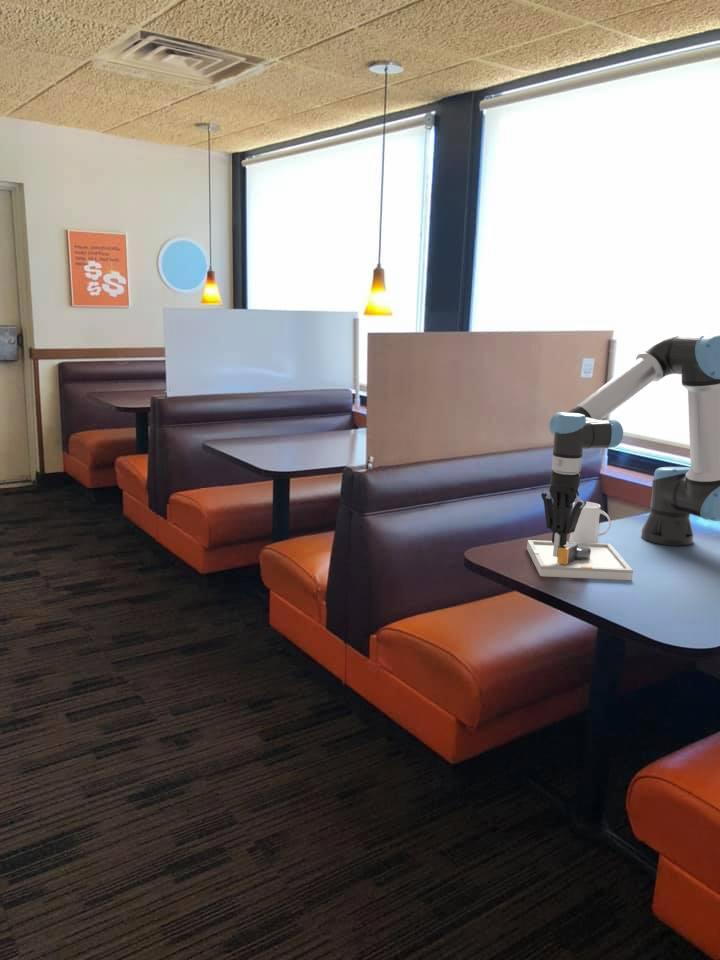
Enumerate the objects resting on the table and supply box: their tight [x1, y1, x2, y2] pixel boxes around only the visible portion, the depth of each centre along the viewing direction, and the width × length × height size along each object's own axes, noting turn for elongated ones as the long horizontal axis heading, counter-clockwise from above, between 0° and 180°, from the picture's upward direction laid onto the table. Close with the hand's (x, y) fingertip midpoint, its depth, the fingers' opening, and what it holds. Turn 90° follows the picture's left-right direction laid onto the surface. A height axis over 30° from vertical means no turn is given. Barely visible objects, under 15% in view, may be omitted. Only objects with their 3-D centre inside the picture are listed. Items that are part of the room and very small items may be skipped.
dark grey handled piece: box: [557, 541, 591, 565], centre depth 210 cm, size 14×7×4 cm, turn 141°
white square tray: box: [526, 539, 634, 581], centre depth 214 cm, size 24×24×3 cm
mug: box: [568, 501, 612, 543], centre depth 233 cm, size 12×8×12 cm
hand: (557, 555), depth 208 cm, fingers closed
